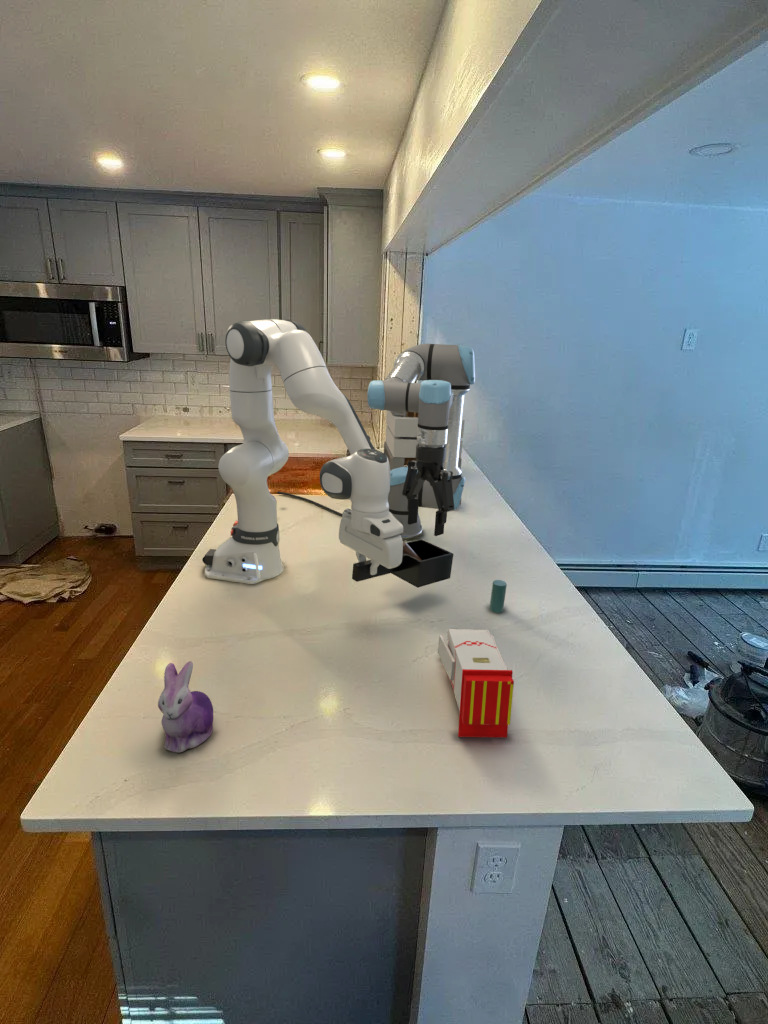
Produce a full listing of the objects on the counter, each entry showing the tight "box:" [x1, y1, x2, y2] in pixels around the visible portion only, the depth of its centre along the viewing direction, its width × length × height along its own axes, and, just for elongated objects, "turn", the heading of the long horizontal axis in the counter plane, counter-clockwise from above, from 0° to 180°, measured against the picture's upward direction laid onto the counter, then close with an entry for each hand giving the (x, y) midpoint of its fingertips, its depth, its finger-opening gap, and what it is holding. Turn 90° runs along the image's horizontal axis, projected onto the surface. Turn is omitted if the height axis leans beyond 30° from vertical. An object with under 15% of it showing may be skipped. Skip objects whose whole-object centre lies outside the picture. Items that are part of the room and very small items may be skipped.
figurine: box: [157, 660, 214, 753], centre depth 100 cm, size 9×10×15 cm
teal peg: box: [489, 579, 507, 614], centre depth 151 cm, size 4×4×8 cm
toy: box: [437, 628, 515, 738], centre depth 117 cm, size 12×13×30 cm
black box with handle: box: [351, 538, 455, 588], centre depth 145 cm, size 12×28×7 cm, turn 131°
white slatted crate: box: [383, 410, 465, 471], centre depth 268 cm, size 34×33×41 cm
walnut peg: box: [403, 540, 422, 561], centre depth 150 cm, size 4×4×8 cm
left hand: (367, 571), depth 139 cm, fingers closed on black box with handle
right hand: (425, 528), depth 148 cm, fingers open, 9 cm apart
